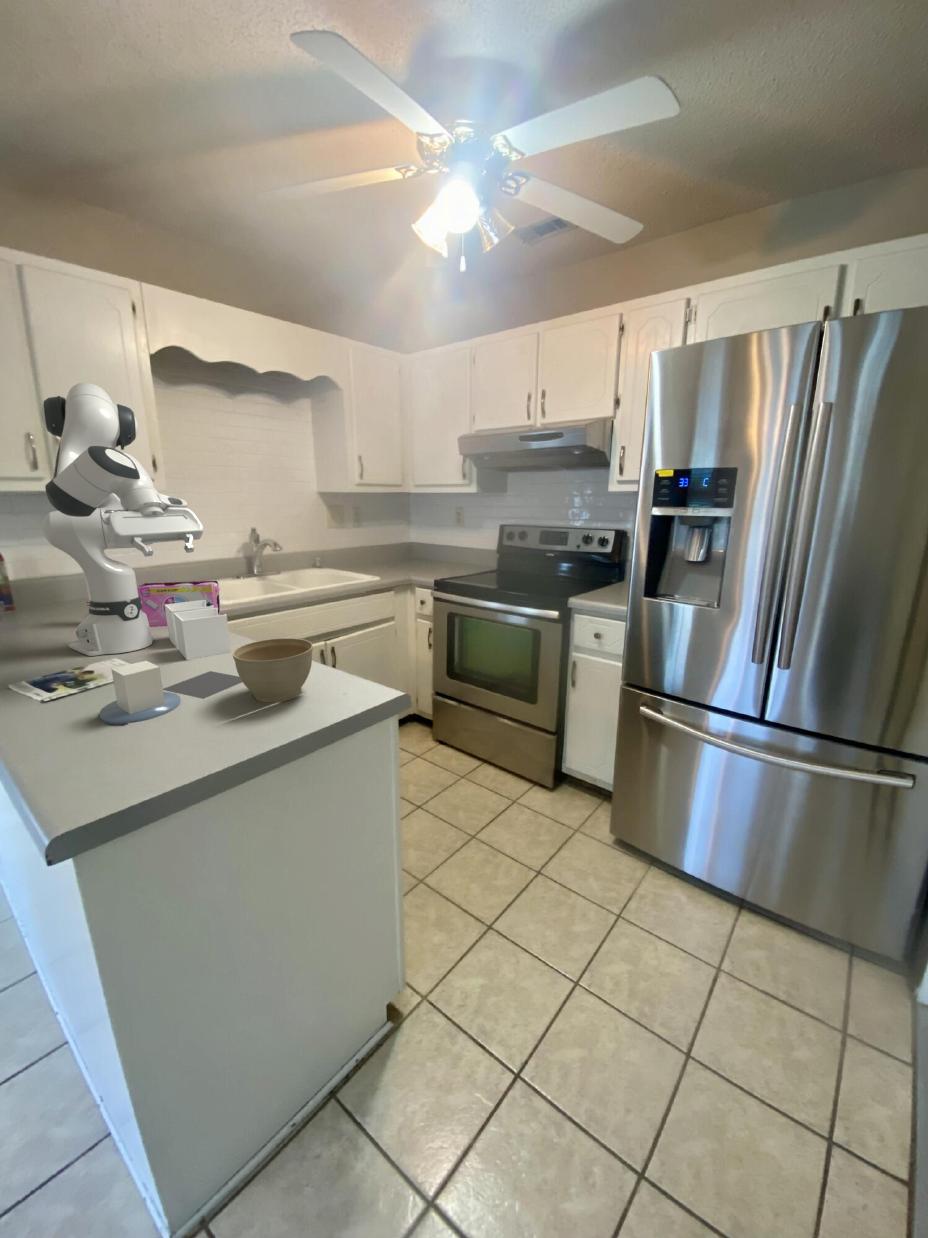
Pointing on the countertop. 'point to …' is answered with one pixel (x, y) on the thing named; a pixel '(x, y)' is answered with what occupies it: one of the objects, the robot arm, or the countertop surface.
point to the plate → (121, 717)
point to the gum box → (175, 597)
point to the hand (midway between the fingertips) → (170, 552)
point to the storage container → (197, 629)
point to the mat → (205, 684)
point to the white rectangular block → (138, 686)
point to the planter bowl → (274, 667)
